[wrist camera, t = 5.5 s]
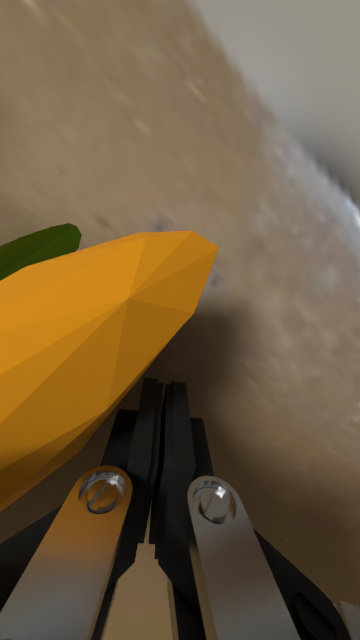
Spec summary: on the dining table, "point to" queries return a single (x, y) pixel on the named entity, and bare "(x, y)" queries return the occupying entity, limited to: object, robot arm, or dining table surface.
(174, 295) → the corn
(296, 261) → the dining table surface
